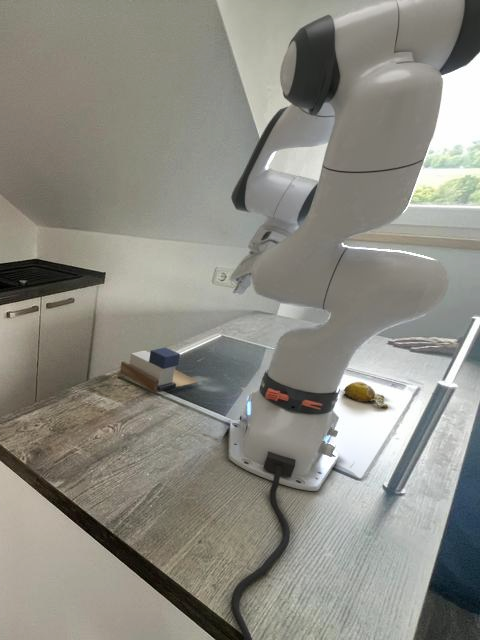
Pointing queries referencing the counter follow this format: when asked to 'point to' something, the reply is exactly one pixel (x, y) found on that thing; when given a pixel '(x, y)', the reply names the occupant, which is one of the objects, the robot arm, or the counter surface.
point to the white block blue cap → (157, 365)
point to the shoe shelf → (150, 381)
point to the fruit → (364, 393)
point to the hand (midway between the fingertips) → (237, 293)
